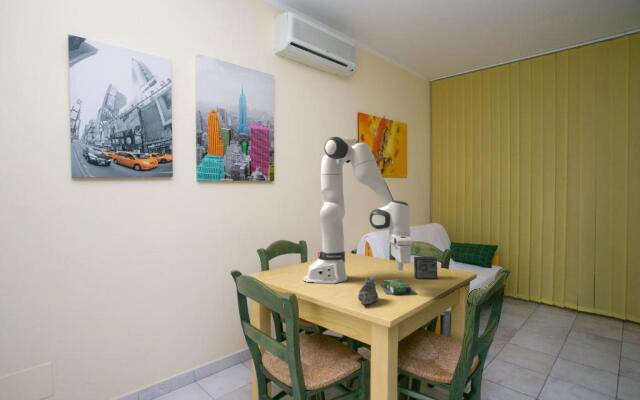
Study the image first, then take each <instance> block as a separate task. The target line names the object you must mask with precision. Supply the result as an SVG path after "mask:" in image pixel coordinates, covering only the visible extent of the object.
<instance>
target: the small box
mask: <svg viewBox="0 0 640 400" xmlns="http://www.w3.org/2000/svg"><path fill="white" fill-rule="evenodd" d="M413 266H414V267H413V268H414V269H413V270H414V271H413V273H414V275H413V276H414V278H415V279H416V280H438V258H437V257H436V256H413Z"/></svg>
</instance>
